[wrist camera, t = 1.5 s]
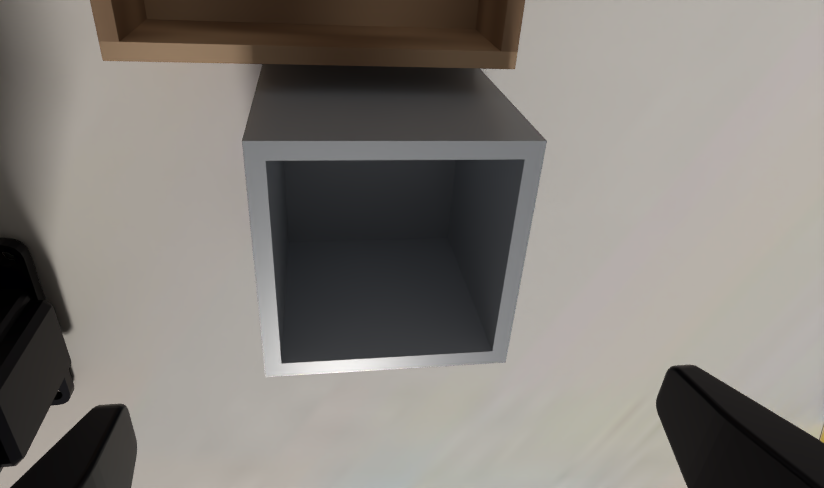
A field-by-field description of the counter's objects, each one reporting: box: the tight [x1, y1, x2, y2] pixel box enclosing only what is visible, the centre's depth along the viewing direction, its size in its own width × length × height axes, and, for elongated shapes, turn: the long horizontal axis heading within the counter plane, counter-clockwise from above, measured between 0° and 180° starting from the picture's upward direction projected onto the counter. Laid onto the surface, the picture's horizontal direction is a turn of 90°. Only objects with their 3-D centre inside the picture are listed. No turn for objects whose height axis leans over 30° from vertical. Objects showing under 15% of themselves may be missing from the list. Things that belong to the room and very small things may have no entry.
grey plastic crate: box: [242, 64, 547, 377], centre depth 15 cm, size 6×6×6 cm
